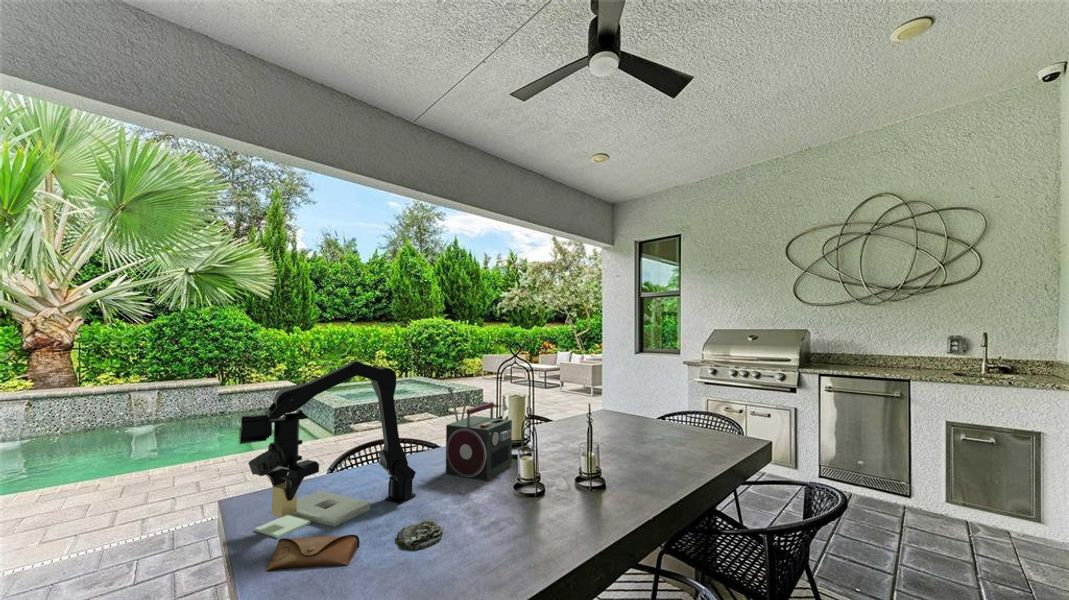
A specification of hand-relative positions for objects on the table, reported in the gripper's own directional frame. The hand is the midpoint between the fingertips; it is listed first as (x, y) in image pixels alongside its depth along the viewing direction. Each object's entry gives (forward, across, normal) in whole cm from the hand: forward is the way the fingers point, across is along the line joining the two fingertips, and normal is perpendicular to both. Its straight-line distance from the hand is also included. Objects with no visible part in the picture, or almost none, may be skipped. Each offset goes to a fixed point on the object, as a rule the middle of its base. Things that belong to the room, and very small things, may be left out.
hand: (284, 498), depth 113 cm
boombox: (+8, +21, +59) cm, 63 cm away
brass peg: (+4, 0, 0) cm, 4 cm away
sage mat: (+7, 0, 0) cm, 7 cm away
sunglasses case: (+8, +21, -7) cm, 23 cm away
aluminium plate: (+7, +2, +11) cm, 14 cm away
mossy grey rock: (+8, +36, +10) cm, 38 cm away
